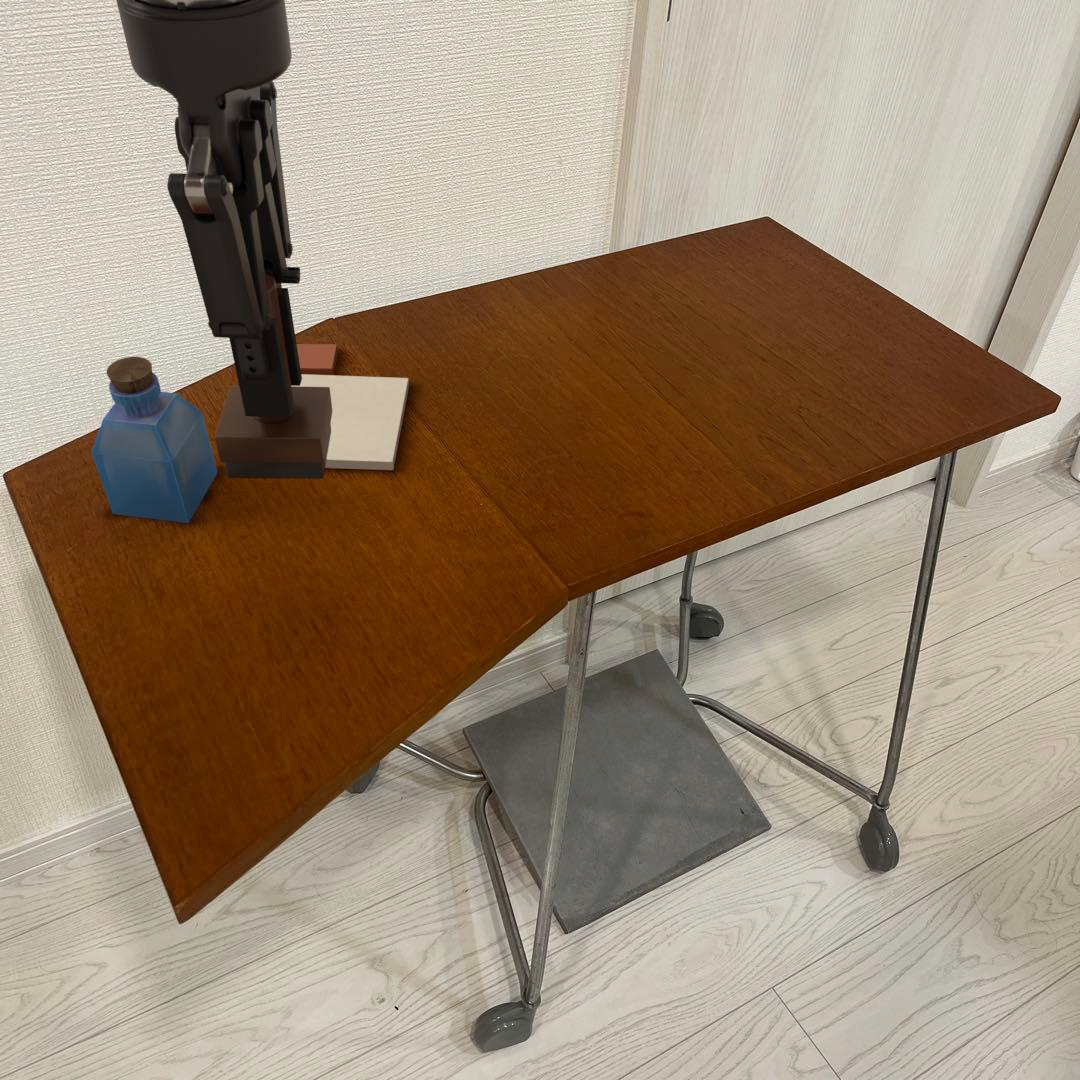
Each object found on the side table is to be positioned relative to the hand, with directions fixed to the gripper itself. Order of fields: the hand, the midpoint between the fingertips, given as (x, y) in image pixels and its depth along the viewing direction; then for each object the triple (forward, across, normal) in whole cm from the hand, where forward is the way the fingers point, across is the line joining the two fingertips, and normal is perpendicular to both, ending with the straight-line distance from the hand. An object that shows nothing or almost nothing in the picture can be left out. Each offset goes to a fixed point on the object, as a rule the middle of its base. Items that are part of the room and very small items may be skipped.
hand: (274, 396), depth 63 cm
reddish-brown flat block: (+17, +28, +4) cm, 34 cm away
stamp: (+5, 0, 0) cm, 5 cm away
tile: (+17, +20, +1) cm, 26 cm away
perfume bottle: (+17, +10, +13) cm, 24 cm away
